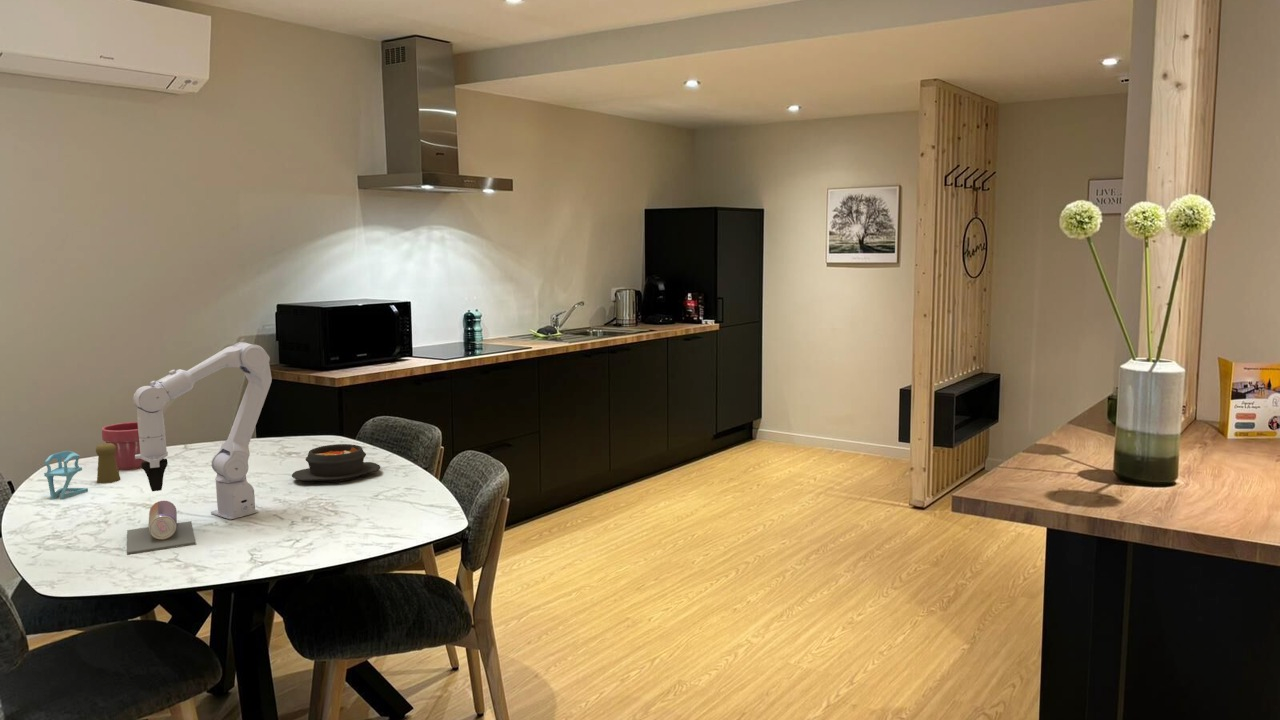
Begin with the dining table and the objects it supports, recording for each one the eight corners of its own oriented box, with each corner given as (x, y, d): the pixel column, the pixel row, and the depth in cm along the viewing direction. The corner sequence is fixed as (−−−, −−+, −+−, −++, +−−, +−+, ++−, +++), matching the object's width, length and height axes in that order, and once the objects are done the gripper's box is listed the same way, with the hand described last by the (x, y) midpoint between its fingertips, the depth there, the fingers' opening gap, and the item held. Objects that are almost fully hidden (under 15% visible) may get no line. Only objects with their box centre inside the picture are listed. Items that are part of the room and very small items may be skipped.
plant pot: (166, 461, 294) (163, 421, 292) (138, 472, 280) (135, 431, 278) (124, 460, 295) (121, 420, 294) (94, 471, 282) (90, 430, 280)
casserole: (372, 465, 287) (371, 438, 286) (387, 478, 271) (386, 450, 270) (287, 475, 275) (285, 448, 274) (297, 490, 259) (295, 461, 258)
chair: (42, 499, 253) (37, 456, 251) (61, 490, 261) (57, 449, 259) (69, 499, 252) (65, 456, 250) (88, 490, 260) (84, 449, 259)
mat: (127, 532, 224) (127, 530, 224) (191, 523, 231) (191, 521, 231) (126, 554, 208) (126, 552, 208) (195, 544, 215) (195, 542, 215)
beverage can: (171, 496, 230) (171, 511, 216) (180, 517, 231) (180, 534, 218) (145, 505, 227) (144, 521, 214) (154, 527, 229) (153, 544, 215)
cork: (91, 482, 269) (88, 445, 267) (108, 477, 275) (105, 441, 273) (109, 483, 268) (105, 446, 266) (125, 478, 273) (122, 442, 272)
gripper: (133, 431, 229) (137, 485, 231) (133, 443, 216) (138, 500, 218) (165, 428, 232) (169, 481, 234) (167, 440, 219) (171, 495, 221)
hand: (156, 490), depth 226 cm, fingers closed
